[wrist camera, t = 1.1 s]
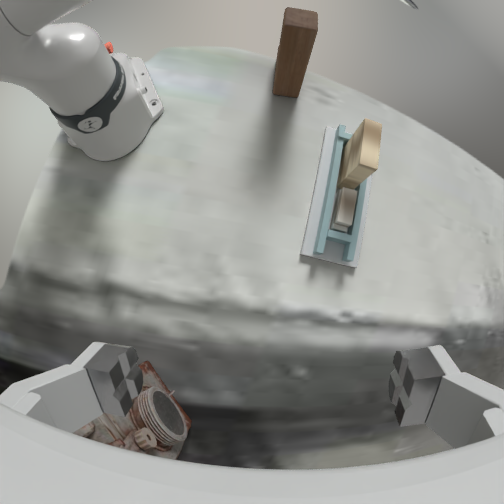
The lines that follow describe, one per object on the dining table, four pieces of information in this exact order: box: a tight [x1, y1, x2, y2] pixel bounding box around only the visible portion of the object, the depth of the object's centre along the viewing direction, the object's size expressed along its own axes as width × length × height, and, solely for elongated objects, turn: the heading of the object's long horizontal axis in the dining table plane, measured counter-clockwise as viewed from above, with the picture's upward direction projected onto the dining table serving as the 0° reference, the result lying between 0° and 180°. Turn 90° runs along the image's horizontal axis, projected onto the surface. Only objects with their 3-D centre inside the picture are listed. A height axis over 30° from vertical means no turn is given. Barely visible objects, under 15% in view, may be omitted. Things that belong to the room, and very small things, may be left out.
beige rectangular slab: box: [336, 118, 382, 190], centre depth 43 cm, size 7×2×11 cm, turn 167°
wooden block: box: [273, 7, 318, 98], centre depth 42 cm, size 9×4×18 cm, turn 173°
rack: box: [300, 125, 372, 268], centre depth 47 cm, size 22×9×4 cm, turn 167°
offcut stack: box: [329, 187, 357, 233], centre depth 46 cm, size 6×2×4 cm, turn 167°
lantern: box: [73, 361, 192, 460], centre depth 30 cm, size 16×27×30 cm, turn 123°
